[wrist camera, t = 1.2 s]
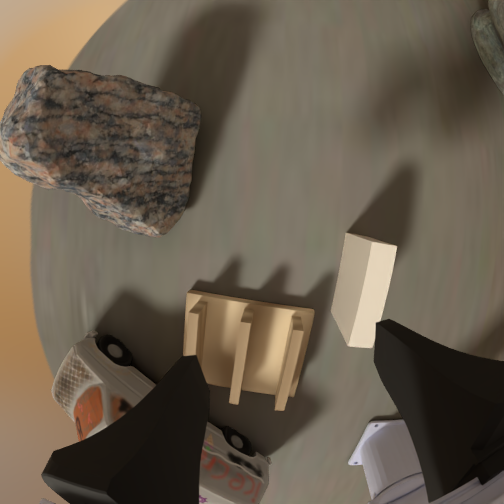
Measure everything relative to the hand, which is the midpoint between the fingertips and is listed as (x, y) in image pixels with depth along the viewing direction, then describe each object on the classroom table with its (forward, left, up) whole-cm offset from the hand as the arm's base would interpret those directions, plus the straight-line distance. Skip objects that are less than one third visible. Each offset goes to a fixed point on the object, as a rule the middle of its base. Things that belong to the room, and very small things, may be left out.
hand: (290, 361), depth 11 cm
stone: (+14, -8, -14) cm, 21 cm away
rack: (+3, +7, -14) cm, 16 cm away
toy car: (+10, +19, -14) cm, 26 cm away
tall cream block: (-5, -1, -14) cm, 15 cm away
